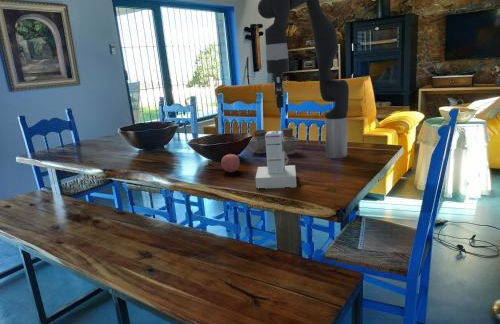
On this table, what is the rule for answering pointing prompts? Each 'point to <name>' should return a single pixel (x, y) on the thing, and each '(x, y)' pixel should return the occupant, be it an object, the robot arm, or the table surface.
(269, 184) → the stand
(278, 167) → the syrup box
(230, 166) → the apple
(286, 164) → the game die
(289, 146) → the pottery
